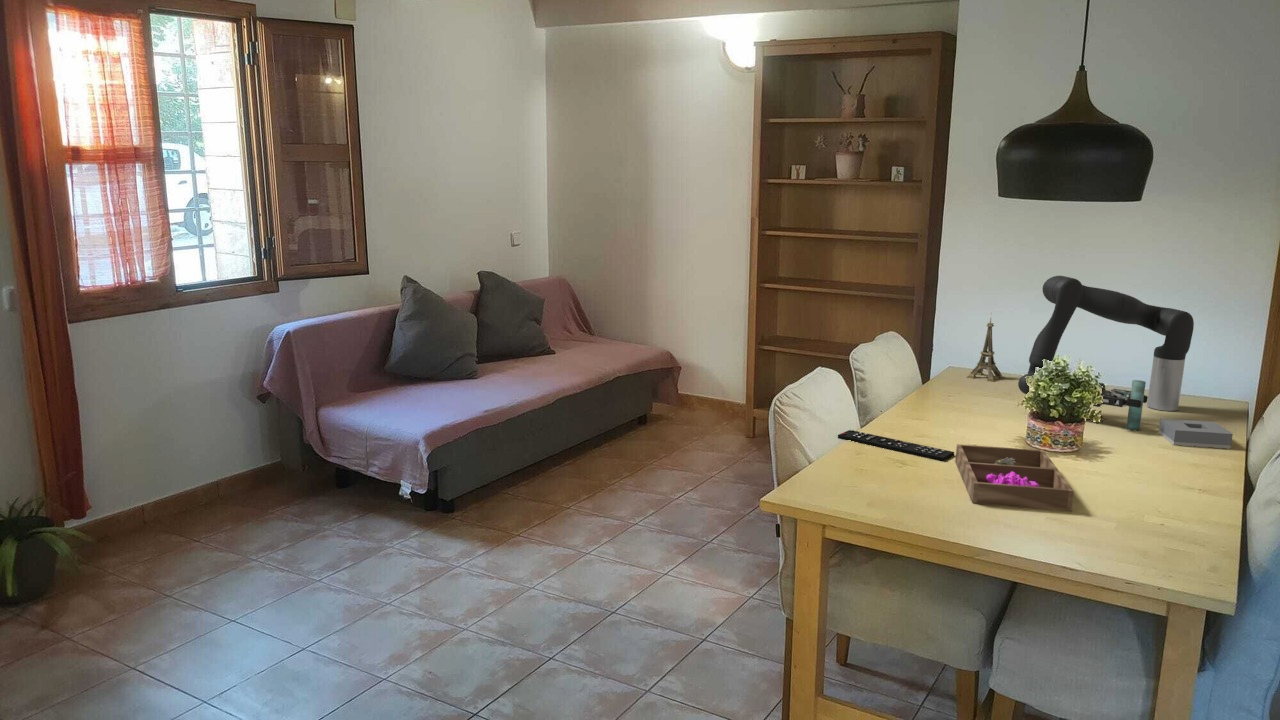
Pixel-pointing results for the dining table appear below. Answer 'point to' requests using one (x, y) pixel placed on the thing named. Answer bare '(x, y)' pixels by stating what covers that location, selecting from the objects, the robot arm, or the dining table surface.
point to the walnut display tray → (1028, 464)
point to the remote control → (897, 445)
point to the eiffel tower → (990, 364)
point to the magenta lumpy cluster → (1012, 480)
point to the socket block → (1195, 433)
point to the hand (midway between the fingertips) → (1144, 401)
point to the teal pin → (1135, 412)
